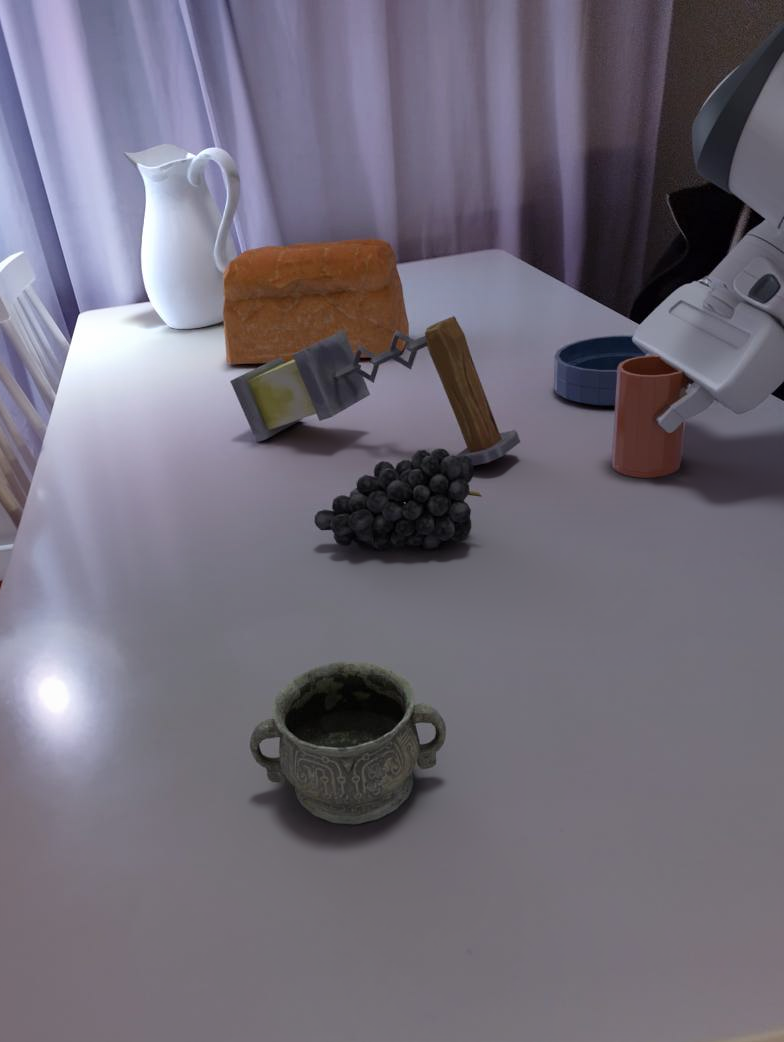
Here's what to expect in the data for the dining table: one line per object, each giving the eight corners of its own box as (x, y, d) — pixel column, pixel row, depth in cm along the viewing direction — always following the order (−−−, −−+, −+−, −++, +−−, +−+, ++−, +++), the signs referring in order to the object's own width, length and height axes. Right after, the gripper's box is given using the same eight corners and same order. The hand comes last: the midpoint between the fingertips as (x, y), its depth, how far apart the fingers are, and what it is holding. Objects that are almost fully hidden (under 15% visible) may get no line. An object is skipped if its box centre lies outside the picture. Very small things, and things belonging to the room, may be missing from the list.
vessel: (439, 729, 62) (435, 651, 59) (458, 822, 55) (454, 738, 52) (260, 747, 63) (246, 670, 60) (255, 841, 56) (238, 759, 52)
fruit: (301, 463, 80) (480, 446, 78) (314, 457, 88) (476, 442, 86) (311, 563, 82) (485, 549, 80) (323, 548, 90) (482, 536, 88)
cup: (670, 450, 96) (679, 352, 91) (688, 474, 91) (699, 372, 85) (605, 456, 97) (611, 359, 91) (620, 480, 91) (626, 379, 86)
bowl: (659, 366, 118) (662, 330, 116) (692, 403, 106) (696, 363, 104) (545, 378, 119) (546, 342, 117) (565, 415, 108) (566, 376, 105)
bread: (246, 343, 151) (231, 243, 143) (412, 333, 144) (406, 227, 136) (221, 370, 140) (203, 263, 132) (400, 360, 133) (393, 247, 125)
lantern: (287, 513, 115) (493, 462, 94) (230, 380, 110) (433, 295, 89) (324, 489, 120) (528, 435, 98) (271, 361, 115) (473, 275, 93)
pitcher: (133, 328, 169) (97, 155, 154) (207, 304, 177) (180, 139, 163) (214, 344, 153) (182, 153, 138) (291, 317, 162) (269, 135, 147)
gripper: (684, 252, 93) (583, 364, 98) (797, 296, 76) (668, 429, 81) (722, 292, 96) (622, 399, 101) (840, 343, 79) (712, 470, 84)
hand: (643, 413), depth 91 cm, fingers closed on cup, 6 cm apart
